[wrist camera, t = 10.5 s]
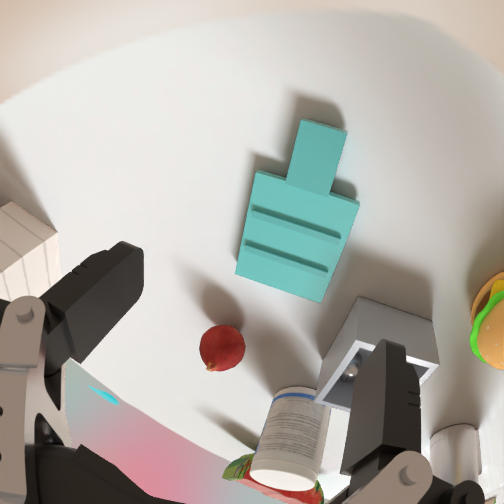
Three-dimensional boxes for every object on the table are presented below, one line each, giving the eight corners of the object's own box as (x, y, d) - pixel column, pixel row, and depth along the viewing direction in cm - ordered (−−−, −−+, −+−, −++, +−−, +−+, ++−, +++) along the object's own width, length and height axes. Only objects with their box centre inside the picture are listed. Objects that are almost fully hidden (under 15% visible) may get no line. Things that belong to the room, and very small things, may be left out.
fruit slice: (235, 442, 61) (220, 478, 53) (252, 437, 58) (236, 476, 50) (313, 481, 64) (305, 513, 56) (332, 478, 61) (323, 512, 53)
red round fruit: (255, 345, 43) (236, 390, 36) (217, 341, 44) (195, 382, 38) (249, 314, 40) (226, 359, 33) (208, 310, 42) (181, 351, 35)
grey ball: (365, 354, 37) (364, 372, 34) (356, 367, 38) (354, 384, 36) (345, 348, 37) (343, 366, 34) (337, 361, 38) (334, 378, 36)
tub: (432, 321, 32) (439, 364, 26) (386, 379, 39) (384, 420, 33) (358, 295, 34) (355, 339, 28) (322, 360, 40) (313, 401, 34)
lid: (378, 140, 26) (381, 145, 23) (322, 293, 35) (319, 307, 33) (273, 109, 27) (266, 111, 25) (240, 265, 37) (232, 277, 35)
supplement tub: (263, 389, 47) (233, 467, 35) (314, 378, 43) (291, 467, 30) (294, 419, 50) (272, 491, 38) (342, 411, 45) (327, 491, 33)
